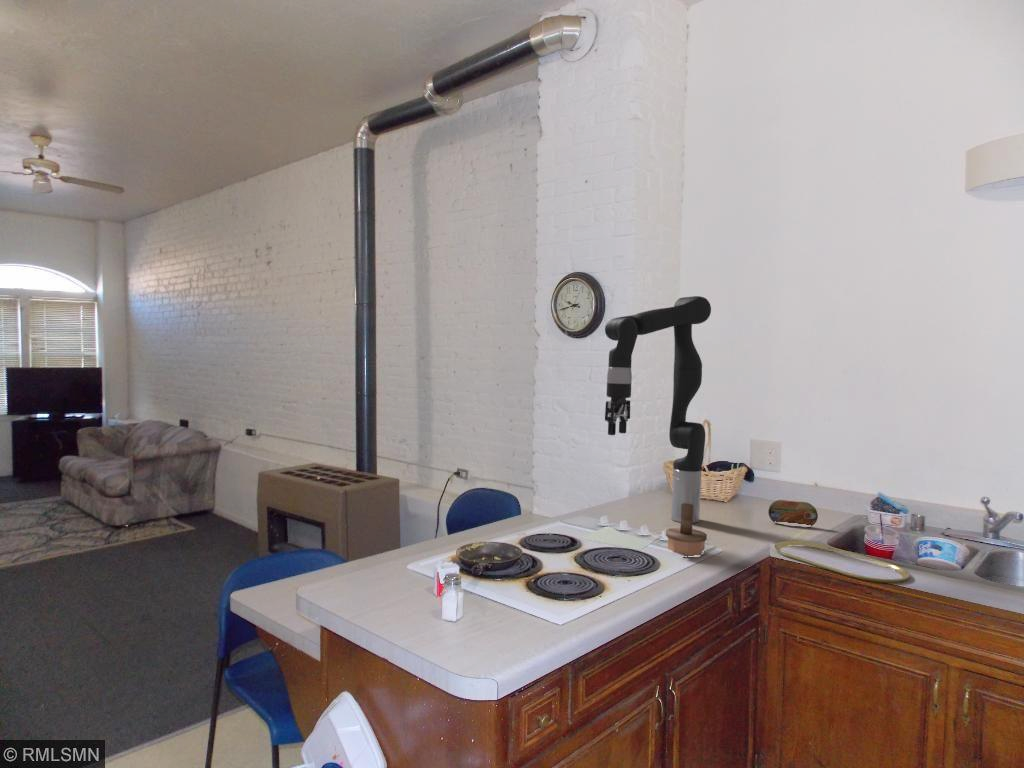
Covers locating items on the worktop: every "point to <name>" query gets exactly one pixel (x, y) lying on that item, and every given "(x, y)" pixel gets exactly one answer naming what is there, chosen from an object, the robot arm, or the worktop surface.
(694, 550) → the terracotta bowl
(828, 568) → the serving platter
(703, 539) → the walnut lid
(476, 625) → the worktop surface
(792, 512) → the tin
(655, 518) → the worktop surface
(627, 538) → the sage mat
